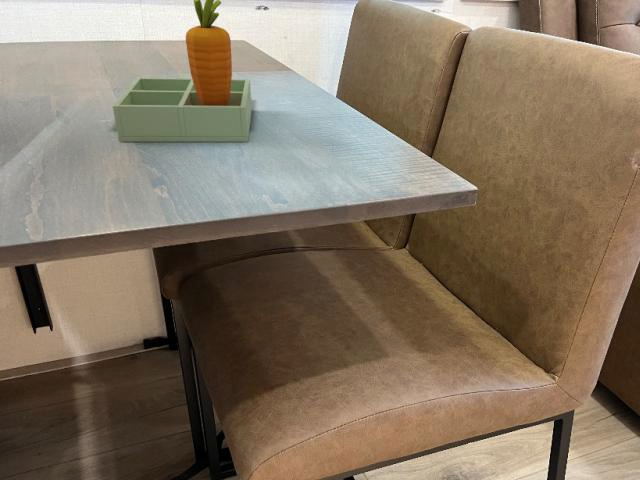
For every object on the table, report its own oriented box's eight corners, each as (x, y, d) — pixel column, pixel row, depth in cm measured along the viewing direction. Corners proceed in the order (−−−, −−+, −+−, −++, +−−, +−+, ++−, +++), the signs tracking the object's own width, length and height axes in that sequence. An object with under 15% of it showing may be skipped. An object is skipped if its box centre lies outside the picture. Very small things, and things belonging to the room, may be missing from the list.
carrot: (194, 121, 80) (179, -12, 72) (235, 119, 81) (224, -11, 73) (196, 132, 75) (180, -7, 68) (239, 131, 77) (228, -6, 69)
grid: (119, 141, 74) (112, 106, 72) (141, 108, 86) (136, 77, 84) (247, 141, 76) (245, 107, 74) (251, 109, 88) (249, 79, 86)
